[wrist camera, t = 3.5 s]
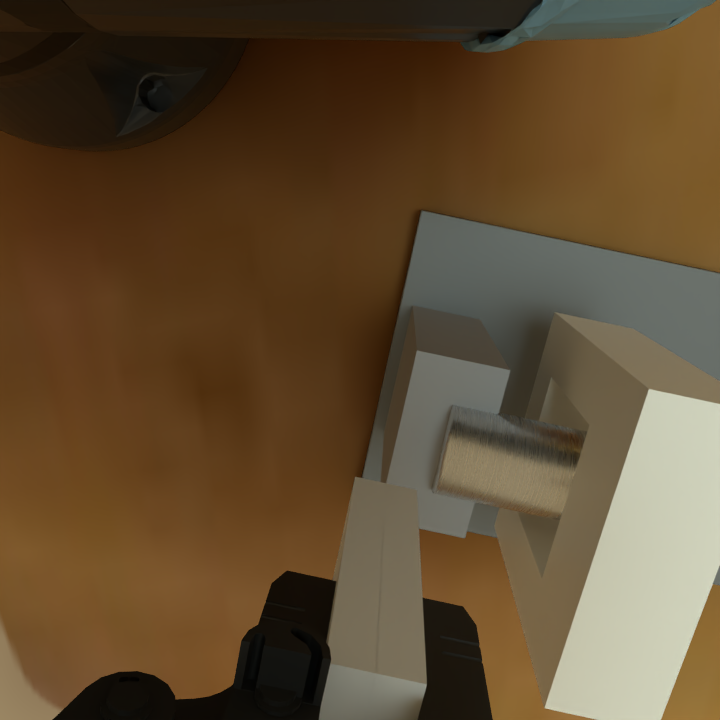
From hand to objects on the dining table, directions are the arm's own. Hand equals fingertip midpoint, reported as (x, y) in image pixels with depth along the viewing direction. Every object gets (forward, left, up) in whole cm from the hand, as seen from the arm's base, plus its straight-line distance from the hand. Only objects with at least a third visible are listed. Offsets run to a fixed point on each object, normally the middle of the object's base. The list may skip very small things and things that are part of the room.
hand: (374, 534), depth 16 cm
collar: (+7, 0, -11) cm, 13 cm away
